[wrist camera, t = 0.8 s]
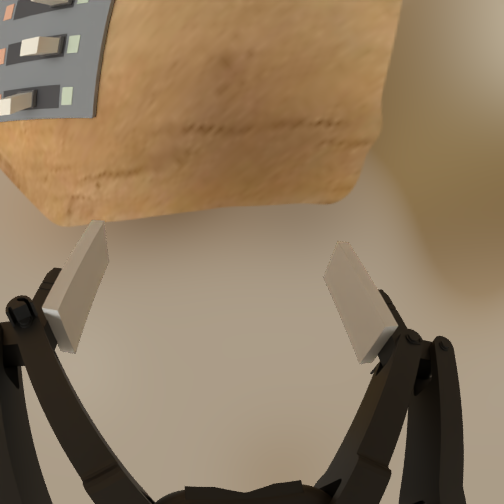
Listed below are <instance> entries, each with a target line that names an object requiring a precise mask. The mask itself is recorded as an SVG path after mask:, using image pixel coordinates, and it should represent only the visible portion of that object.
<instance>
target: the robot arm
mask: <svg viewBox="0 0 504 504" xmlns="http://www.w3.org/2000/svg"><path fill="white" fill-rule="evenodd" d="M108 263H109V258H108V249H107V241H106V233H105V221H101V220H92V221H91V222H90V224H89V225H88V227H87V228H86V230H85V231H84V233H83V235H82V236H81V238H80V239H79V241H78V243H77V244H76V246H75V248H74V249H73V251H72V253H71V254H70V256H69V258H68V259H67V261H66V263H65V265H64V266H63V268H62V269H61V268H53V269H52V270H51V271H50V272H49V273H47V275H46V277H45V278H44V280H43V283H42V284H41V285H40V287H39V289H38V291H37V292H36V295H35V296H34V298H33V300H31V299H30V298H29V297H27V296H22V295H21V296H17V297H15V298H13V299H12V300H11V301H10V302H9V303H8V304H7V307H6V314H7V316H8V318H9V320H10V322H1V323H0V504H52V501H51V498H50V496H49V493H48V490H47V487H46V484H45V481H44V478H43V475H42V472H41V469H40V466H39V462H38V459H37V455H36V451H35V447H34V444H33V439H32V434H31V430H30V425H29V420H28V415H27V409H26V403H25V397H24V389H23V381H22V371H21V366H25V367H26V370H27V372H28V375H29V378H30V380H31V383H32V385H33V388H34V390H35V393H36V395H37V397H38V400H39V402H40V404H41V407H42V409H43V411H44V413H45V415H46V417H47V419H48V421H49V423H50V425H51V427H52V429H53V431H54V433H55V435H56V437H57V439H58V441H59V442H60V444H61V446H62V448H63V450H64V451H65V453H66V455H67V457H68V458H69V460H70V461H71V463H72V465H73V466H74V468H75V469H76V471H77V473H78V474H79V476H80V477H81V479H82V481H83V486H84V488H85V490H86V492H87V493H88V495H89V496H90V497H91V499H92V500H93V502H94V503H95V504H379V502H380V500H381V498H382V496H383V494H384V492H385V489H386V486H387V485H388V482H389V480H390V477H391V470H390V469H389V468H388V465H389V462H390V460H391V457H392V454H393V452H394V449H395V446H396V443H397V441H398V438H399V435H400V432H401V429H402V425H403V422H404V419H405V416H406V413H407V409H408V423H407V438H406V450H405V460H404V468H403V476H402V482H401V489H400V497H399V504H466V501H465V495H464V491H463V465H464V464H463V463H464V455H463V454H464V445H463V421H462V408H461V397H460V388H459V380H458V373H457V366H456V360H455V354H454V348H453V346H452V344H451V342H450V341H449V340H448V339H447V338H445V337H443V336H437V337H436V338H435V339H434V341H433V342H429V341H425V340H422V338H421V336H420V335H419V334H418V333H417V332H415V331H414V330H411V329H407V327H406V326H405V324H404V322H403V320H402V318H401V317H400V315H399V313H398V311H397V310H396V308H395V306H394V305H393V303H392V301H391V299H390V298H389V296H388V295H387V294H386V293H385V292H384V291H383V290H378V289H377V287H376V286H375V284H374V282H373V281H372V279H371V277H370V276H369V274H368V273H367V271H366V270H365V268H364V266H363V264H362V263H361V261H360V259H359V258H358V256H357V255H356V253H355V252H354V250H353V249H352V247H351V245H350V244H349V243H348V242H341V241H337V244H336V246H335V249H334V252H333V254H332V257H331V259H330V262H329V265H328V267H327V270H326V272H325V275H324V277H323V278H324V280H325V282H326V285H327V287H328V289H329V291H330V294H331V296H332V298H333V301H334V303H335V305H336V308H337V310H338V312H339V315H340V317H341V320H342V322H343V324H344V327H345V329H346V332H347V334H348V336H349V339H350V341H351V344H352V346H353V349H354V351H355V354H356V356H357V359H358V361H359V364H363V363H371V362H373V361H374V359H375V358H376V357H377V355H378V357H379V359H380V362H379V363H378V364H377V365H376V367H375V368H374V369H373V370H372V372H371V373H370V374H373V373H374V374H373V377H372V379H371V381H370V384H369V386H368V389H367V391H366V393H365V396H364V398H363V400H362V402H361V405H360V407H359V409H358V411H357V414H356V416H355V418H354V420H353V422H352V424H351V426H350V428H349V430H348V432H347V434H346V436H345V438H344V440H343V442H342V444H341V446H340V448H339V450H338V451H337V453H336V455H335V457H334V459H333V461H332V462H331V464H330V466H329V468H328V469H327V471H326V473H325V474H324V475H323V476H322V477H321V478H320V479H319V480H318V481H317V483H316V484H315V486H314V487H312V486H308V485H302V483H301V480H299V481H292V482H285V483H276V484H272V485H269V486H266V487H264V488H260V489H257V490H254V491H251V492H247V493H243V492H237V491H231V490H226V489H221V488H216V487H188V486H185V490H181V491H177V492H174V493H171V494H168V495H166V496H164V497H162V498H161V499H159V500H158V501H157V502H154V501H153V500H152V498H151V497H150V496H149V495H148V494H147V493H146V492H145V491H144V490H143V488H142V487H141V486H140V485H139V484H138V483H137V482H136V481H135V479H134V478H133V477H132V476H131V475H130V473H129V472H128V471H127V469H126V468H125V467H124V466H123V464H122V463H121V462H120V460H119V459H118V458H117V456H116V455H115V454H114V452H113V451H112V450H111V448H110V447H109V445H108V444H107V442H106V441H105V439H104V438H103V437H102V435H101V434H100V432H99V431H98V429H97V427H96V426H95V424H94V423H93V421H92V419H91V418H90V416H89V415H88V413H87V411H86V410H85V408H84V407H83V405H82V403H81V401H80V399H79V397H78V396H77V394H76V392H75V390H74V389H73V387H72V385H71V383H70V381H69V379H68V377H67V375H66V373H65V371H64V369H63V367H62V365H61V363H60V361H59V359H58V357H57V355H56V352H55V348H56V345H57V344H58V346H59V348H60V350H61V351H63V352H69V353H74V354H75V353H76V350H77V347H78V343H79V341H80V338H81V335H82V332H83V329H84V326H85V323H86V320H87V317H88V314H89V312H90V309H91V306H92V303H93V301H94V298H95V295H96V293H97V290H98V287H99V285H100V283H101V280H102V278H103V275H104V273H105V270H106V268H107V266H108Z"/></svg>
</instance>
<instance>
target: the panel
mask: <svg viewBox="0 0 504 504" xmlns="http://www.w3.org/2000/svg"><path fill="white" fill-rule="evenodd" d="M114 1H115V0H73V1H72V4H71V5H65V6H59V7H54V8H51V7H49V6H50V5H47V4H42V3H38V2H33V1H31V0H0V99H2V98H5V97H9V96H12V95H15V94H17V92H21V91H28V90H37V96H36V107H34V108H26V109H23V110H21V111H18V112H15V113H13V114H10V115H1V116H0V122H4V121H15V120H28V119H47V118H93V117H95V116H96V107H97V96H98V87H99V79H100V72H101V65H102V58H103V52H104V47H105V41H106V36H107V31H108V26H109V22H110V17H111V13H112V9H113V5H114ZM59 36H64V43H63V49H62V54H57V55H49V56H40V55H30V56H20V50H21V44H22V40H25V39H29V38H34V37H59Z"/></svg>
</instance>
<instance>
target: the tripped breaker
mask: <svg viewBox="0 0 504 504" xmlns="http://www.w3.org/2000/svg"><path fill="white" fill-rule="evenodd" d="M36 96H37V90H28V91H21V92H17V94H15V95H12V96H9V97H5V98H2V99H0V116H1V115H10V114H13V113H15V112H18V111H21V110H23V109H26V108H34V107H36Z"/></svg>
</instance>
